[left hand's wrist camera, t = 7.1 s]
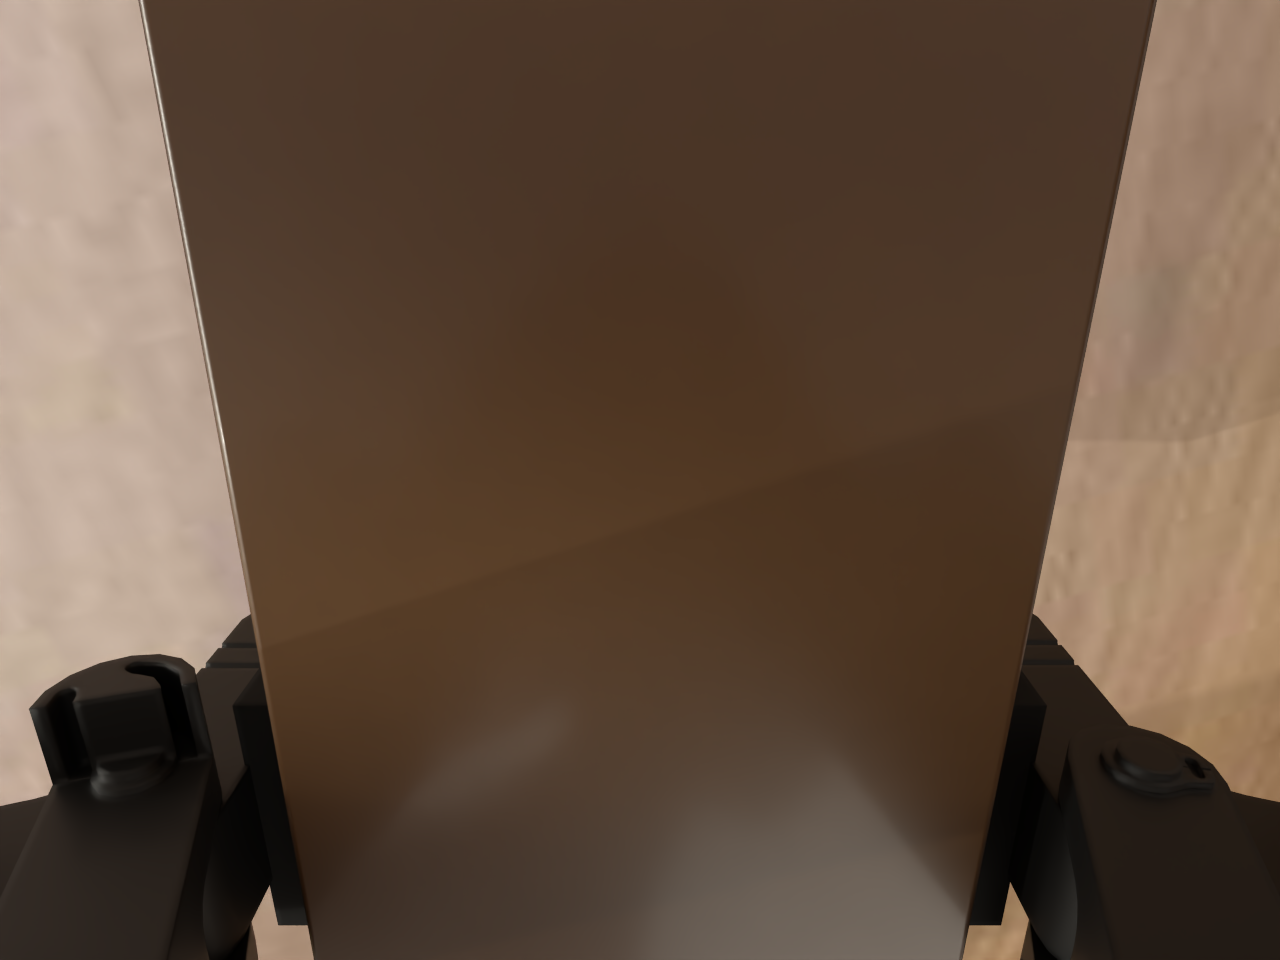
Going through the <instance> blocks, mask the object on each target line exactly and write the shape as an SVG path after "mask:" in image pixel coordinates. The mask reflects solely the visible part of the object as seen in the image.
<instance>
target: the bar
mask: <svg viewBox="0 0 1280 960" xmlns="http://www.w3.org/2000/svg"><path fill="white" fill-rule="evenodd" d="M1156 2H1157V0H139V6H140V11H141V17H142V22H143V28H144V33H145V39H146V44H147V50H148V55H149V61H150V66H151V71H152V77H153V82H154V88H155V93H156V99H157V104H158V110H159V115H160V121H161V126H162V132H163V137H164V142H165V148H166V153H167V159H168V164H169V170H170V175H171V181H172V186H173V192H174V197H175V203H176V208H177V213H178V219H179V224H180V230H181V235H182V241H183V246H184V252H185V257H186V263H187V268H188V274H189V279H190V284H191V290H192V295H193V301H194V306H195V312H196V317H197V323H198V328H199V334H200V339H201V345H202V350H203V355H204V361H205V366H206V372H207V377H208V383H209V388H210V394H211V399H212V405H213V410H214V416H215V421H216V426H217V432H218V437H219V443H220V448H221V454H222V459H223V465H224V470H225V476H226V481H227V487H228V492H229V497H230V503H231V508H232V514H233V519H234V525H235V530H236V536H237V541H238V547H239V552H240V558H241V563H242V568H243V574H244V579H245V585H246V590H247V596H248V601H249V607H250V612H251V618H252V623H253V629H254V634H255V639H256V645H257V650H258V656H259V661H260V667H261V672H262V678H263V683H264V689H265V694H266V700H267V705H268V710H269V716H270V721H271V727H272V732H273V738H274V743H275V749H276V754H277V760H278V765H279V771H280V776H281V781H282V787H283V792H284V798H285V803H286V809H287V814H288V820H289V825H290V831H291V836H292V842H293V847H294V852H295V858H296V863H297V869H298V874H299V880H300V885H301V891H302V896H303V902H304V907H305V913H306V918H307V923H308V929H309V934H310V940H311V945H312V951H313V956H314V960H962V958H963V953H964V948H965V943H966V938H967V933H968V928H969V924H970V919H971V914H972V909H973V904H974V899H975V894H976V889H977V884H978V879H979V874H980V869H981V864H982V859H983V855H984V850H985V845H986V840H987V835H988V830H989V825H990V820H991V815H992V810H993V805H994V800H995V795H996V790H997V786H998V781H999V776H1000V771H1001V766H1002V761H1003V756H1004V751H1005V746H1006V741H1007V736H1008V731H1009V726H1010V721H1011V717H1012V712H1013V707H1014V702H1015V697H1016V692H1017V687H1018V682H1019V677H1020V672H1021V667H1022V662H1023V657H1024V652H1025V648H1026V643H1027V638H1028V633H1029V628H1030V623H1031V618H1032V613H1033V608H1034V603H1035V598H1036V593H1037V588H1038V583H1039V579H1040V574H1041V569H1042V564H1043V559H1044V554H1045V549H1046V544H1047V539H1048V534H1049V529H1050V524H1051V519H1052V514H1053V510H1054V505H1055V500H1056V495H1057V490H1058V485H1059V480H1060V475H1061V470H1062V465H1063V460H1064V455H1065V450H1066V445H1067V440H1068V436H1069V431H1070V426H1071V421H1072V416H1073V411H1074V406H1075V401H1076V396H1077V391H1078V386H1079V381H1080V376H1081V371H1082V367H1083V362H1084V357H1085V352H1086V347H1087V342H1088V337H1089V332H1090V327H1091V322H1092V317H1093V312H1094V307H1095V302H1096V298H1097V293H1098V288H1099V283H1100V278H1101V273H1102V268H1103V263H1104V258H1105V253H1106V248H1107V243H1108V238H1109V233H1110V229H1111V224H1112V219H1113V214H1114V209H1115V204H1116V199H1117V194H1118V189H1119V184H1120V179H1121V174H1122V169H1123V164H1124V160H1125V155H1126V150H1127V145H1128V140H1129V135H1130V130H1131V125H1132V120H1133V115H1134V110H1135V105H1136V100H1137V95H1138V91H1139V86H1140V81H1141V76H1142V71H1143V66H1144V61H1145V56H1146V51H1147V46H1148V41H1149V36H1150V31H1151V26H1152V22H1153V17H1154V12H1155V7H1156Z"/></svg>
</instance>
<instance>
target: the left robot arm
mask: <svg viewBox="0 0 1280 960" xmlns="http://www.w3.org/2000/svg"><path fill="white" fill-rule="evenodd" d="M29 710H30V713H31V717H32V720H33V723H34V726H35V729H36V733H37V736H38V739H39V742H40V745H41V748H42V752H43V755H44V758H45V761H46V764H47V767H48V771H49V774H50V777H51V780H52V783H53V786H52V788H51V790H50V792H49V794H48V795H47V796H43V797H40V798H36V799H32V800H27V801H23V802H18V803H13V804H8V805H3V806H0V960H258V954H257V947H256V940H255V935H254V931H253V926H252V922H251V921H252V919H253V917H254V915H255V913H256V911H257V909H258V907H259V905H260V903H261V901H262V899H263V897H264V895H265V893H266V891H267V889H268V887H269V885H270V888H271V893H272V898H273V902H274V907H275V912H276V917H277V922H278V925H308V923H307V918H306V913H305V907H304V902H303V896H302V891H301V885H300V880H299V874H298V869H297V863H296V858H295V852H294V847H293V842H292V836H291V831H290V825H289V820H288V814H287V809H286V803H285V798H284V792H283V787H282V781H281V776H280V771H279V765H278V760H277V754H276V749H275V743H274V738H273V732H272V727H271V721H270V716H269V710H268V705H267V700H266V694H265V689H264V683H263V678H262V672H261V667H260V661H259V656H258V650H257V645H256V639H255V634H254V629H253V623H252V618H251V614H250V615H249V616H247V617H246V618H244V619H242V620H241V622H240V623H239V624H238V625H237V626H236V628H235V629H234V630H233V631H232V632H231V634H230V635H229V636H228V637H227V638H226V640H225V641H224V642H223V643H222V648H218V649H217V650H216V652H215V653H214V654H213V655H212V656H211V658H210V659H209V660H208V661H207V662H206V668H201V670H200V671H199V672H198V673H197V674H196V673H195V669H194V667H192V666H191V665H190V664H188V663H187V662H186V661H184V660H183V659H182V658H177V657H172V656H166V655H161V654H154V655H136V656H128V657H124V658H120V659H115V660H111V661H107V662H103V663H99V664H97V665H94V666H92V667H89V668H87V669H84V670H82V671H80V672H77V673H75V674H72V675H70V676H68V677H67V678H65V679H64V680H62V681H60V682H59V683H57V684H56V685H54V686H52V687H51V688H49V689H48V690H46V691H45V692H44V693H43V694H42V695H41V696H40V697H39V698H38V700H37V701H36V702H35V703H34V704H33V705H32V706H31V707H30V708H29ZM1010 882H1011V884H1012V886H1013V888H1014V890H1015V892H1016V894H1017V896H1018V898H1019V900H1020V902H1021V904H1022V906H1023V908H1024V910H1025V912H1026V914H1027V916H1028V918H1029V922H1028V926H1027V931H1026V935H1025V940H1024V944H1023V949H1022V953H1021V958H1020V960H1280V802H1276V801H1271V800H1266V799H1261V798H1256V797H1252V796H1247V795H1243V794H1239V793H1236V792H1232V791H1230V788H1229V786H1228V784H1227V783H1226V781H1225V780H1224V779H1223V777H1222V776H1221V775H1220V773H1219V772H1218V771H1217V770H1216V768H1215V767H1214V766H1213V764H1211V763H1210V762H1209V761H1207V760H1206V759H1204V758H1203V757H1202V756H1200V755H1199V754H1198V753H1196V752H1195V751H1194V750H1192V749H1191V748H1190V747H1188V746H1186V745H1183V744H1181V743H1179V742H1177V741H1175V740H1173V739H1171V738H1168V737H1166V736H1164V735H1162V734H1159V733H1156V732H1152V731H1148V730H1145V729H1141V728H1137V727H1133V726H1129V725H1128V724H1127V723H1126V722H1125V720H1124V719H1123V718H1122V717H1121V716H1120V714H1119V713H1118V712H1117V711H1116V710H1115V709H1114V707H1113V706H1112V705H1111V704H1110V703H1109V701H1108V700H1107V699H1106V698H1105V697H1104V695H1103V694H1102V693H1101V692H1100V691H1099V689H1098V688H1097V687H1096V686H1095V685H1094V683H1093V682H1092V681H1091V680H1090V679H1089V677H1088V676H1087V675H1086V674H1085V673H1084V672H1083V670H1082V669H1081V668H1080V667H1079V666H1078V665H1074V660H1073V658H1072V657H1071V656H1070V655H1069V654H1068V652H1067V651H1066V650H1065V649H1064V648H1063V646H1062V645H1058V643H1057V639H1056V638H1055V637H1054V636H1053V634H1052V633H1051V632H1050V631H1049V630H1048V629H1047V627H1046V626H1045V625H1044V624H1043V623H1042V621H1041V620H1040V619H1039V618H1038V617H1037V616H1036V615H1034V614H1032V618H1031V623H1030V628H1029V633H1028V638H1027V643H1026V648H1025V652H1024V657H1023V662H1022V667H1021V672H1020V677H1019V682H1018V687H1017V692H1016V697H1015V702H1014V707H1013V712H1012V717H1011V721H1010V726H1009V731H1008V736H1007V741H1006V746H1005V751H1004V756H1003V761H1002V766H1001V771H1000V776H999V781H998V786H997V790H996V795H995V800H994V805H993V810H992V815H991V820H990V825H989V830H988V835H987V840H986V845H985V850H984V855H983V859H982V864H981V869H980V874H979V879H978V884H977V889H976V894H975V899H974V904H973V909H972V914H971V919H970V924H969V925H1001V923H1002V918H1003V914H1004V909H1005V904H1006V899H1007V894H1008V890H1009V885H1010Z"/></svg>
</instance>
